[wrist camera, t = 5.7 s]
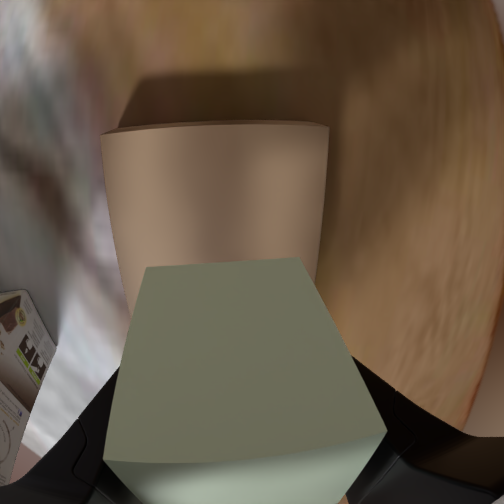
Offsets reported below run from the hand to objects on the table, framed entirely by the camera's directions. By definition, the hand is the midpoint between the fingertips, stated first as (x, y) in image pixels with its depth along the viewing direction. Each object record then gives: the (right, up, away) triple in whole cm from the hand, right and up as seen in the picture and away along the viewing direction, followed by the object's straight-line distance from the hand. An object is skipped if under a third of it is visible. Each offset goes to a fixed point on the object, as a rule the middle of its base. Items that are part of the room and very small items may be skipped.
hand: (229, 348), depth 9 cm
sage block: (0, +1, +1) cm, 1 cm away
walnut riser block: (-2, +5, +10) cm, 12 cm away
